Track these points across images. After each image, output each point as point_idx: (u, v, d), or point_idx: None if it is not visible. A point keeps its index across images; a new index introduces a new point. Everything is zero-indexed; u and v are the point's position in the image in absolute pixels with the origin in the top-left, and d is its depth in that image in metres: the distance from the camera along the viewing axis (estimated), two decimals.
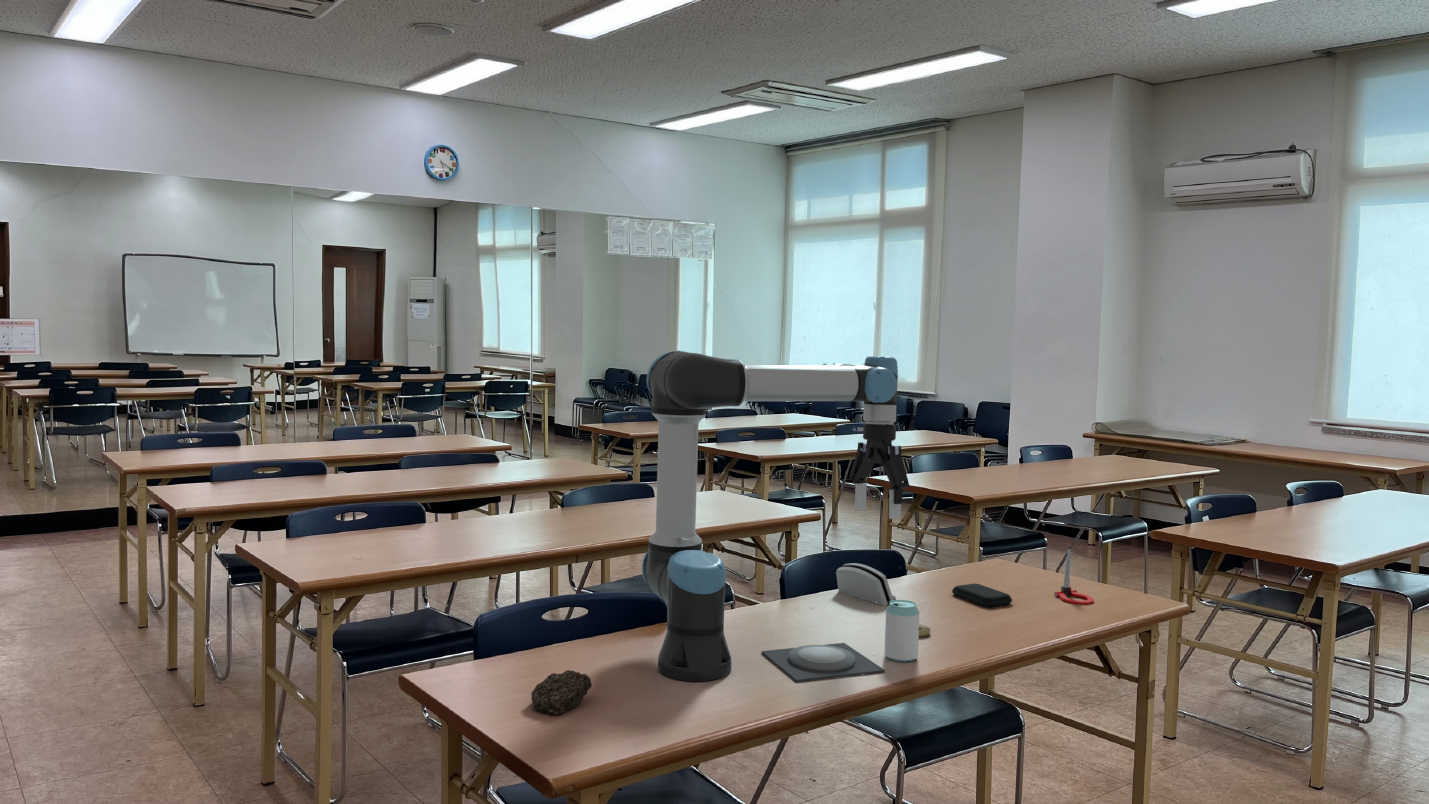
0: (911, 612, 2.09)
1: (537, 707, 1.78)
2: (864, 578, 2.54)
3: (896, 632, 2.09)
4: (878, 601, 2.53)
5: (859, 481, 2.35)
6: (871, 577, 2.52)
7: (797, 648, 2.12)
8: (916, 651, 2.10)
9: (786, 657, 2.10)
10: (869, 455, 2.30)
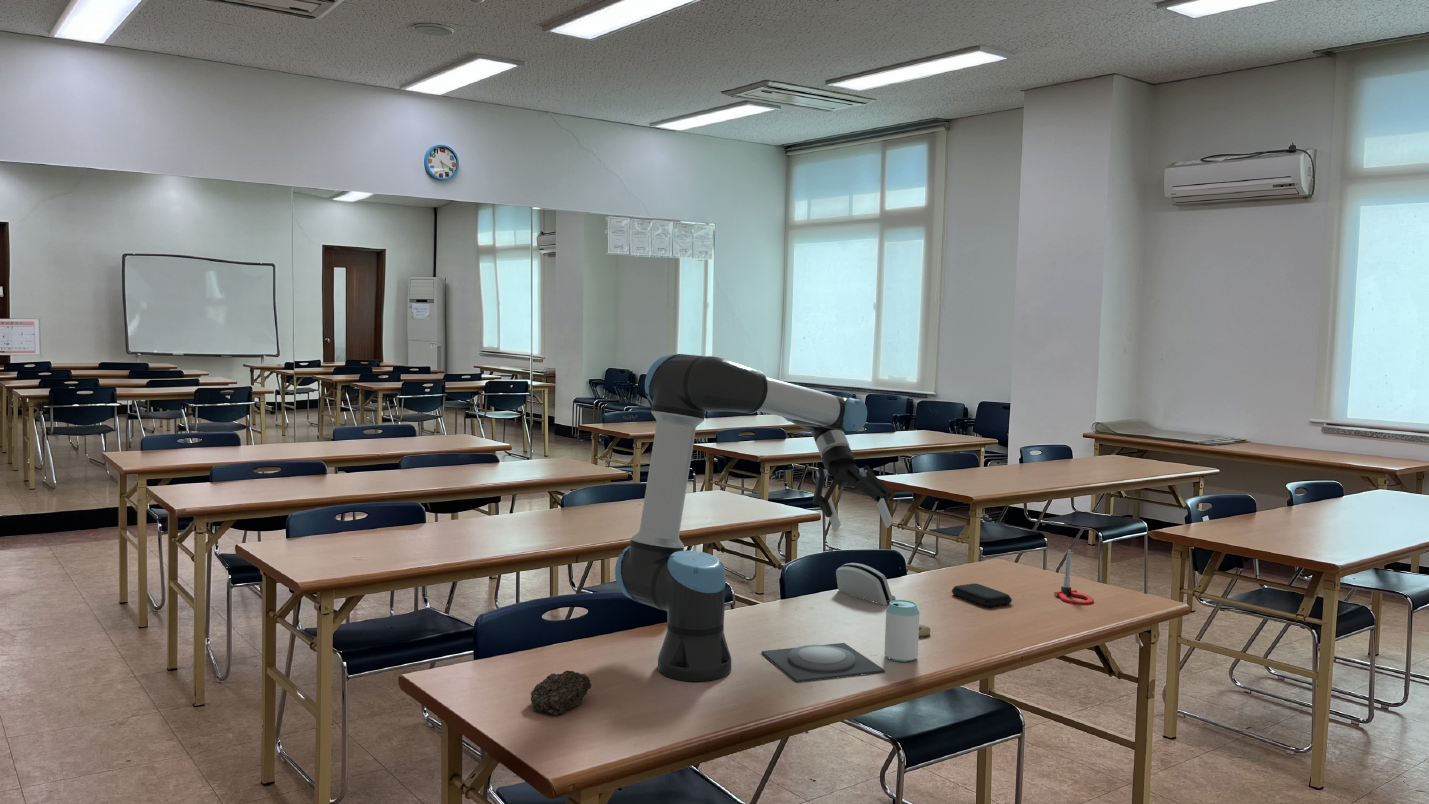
0: (911, 612, 2.09)
1: (536, 707, 1.78)
2: (863, 578, 2.54)
3: (896, 632, 2.09)
4: (878, 601, 2.53)
5: None
6: (871, 577, 2.52)
7: (797, 648, 2.12)
8: (916, 651, 2.10)
9: (786, 657, 2.10)
10: (842, 474, 2.35)
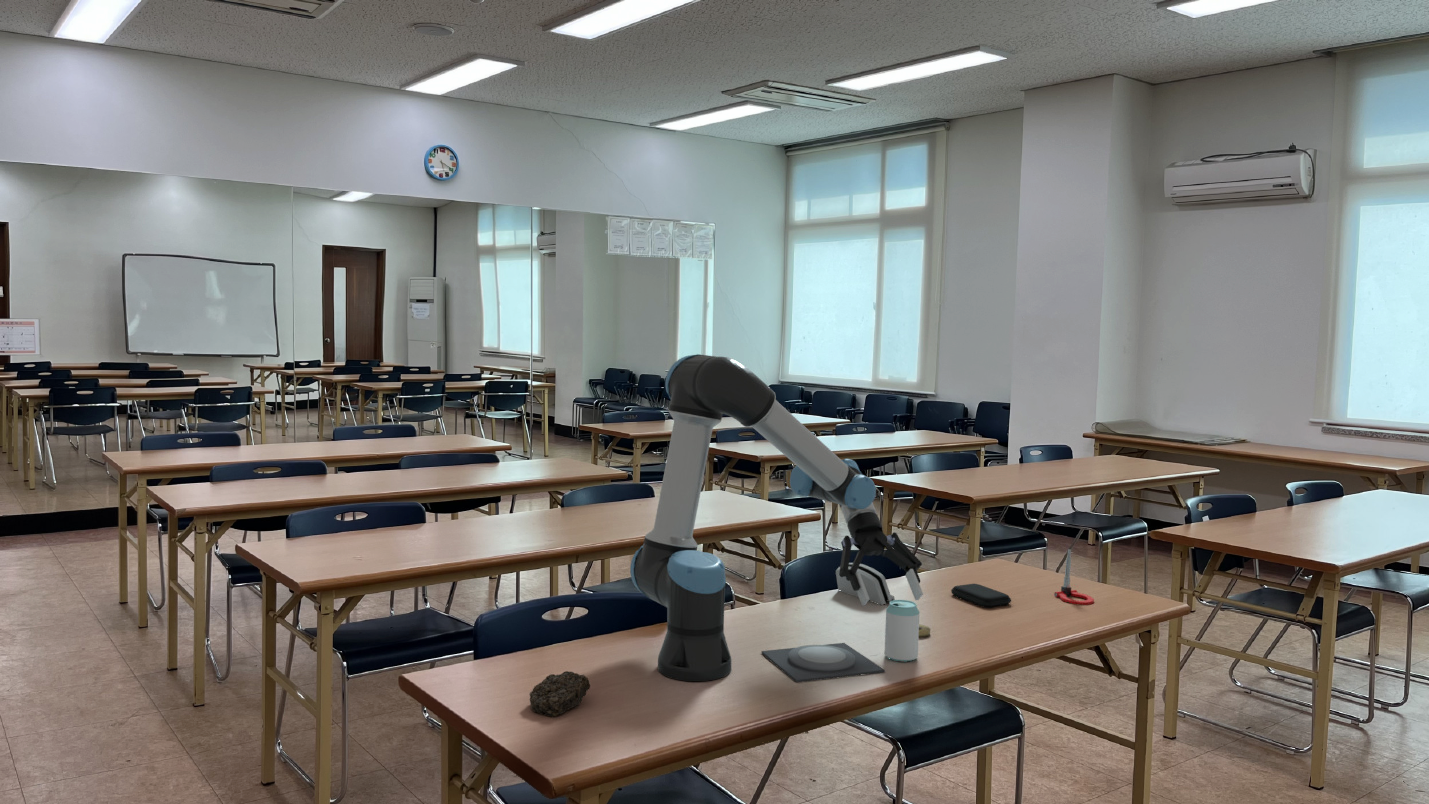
0: (911, 612, 2.09)
1: (535, 708, 1.78)
2: (862, 577, 2.54)
3: (896, 632, 2.09)
4: (876, 601, 2.53)
5: None
6: (869, 577, 2.53)
7: (797, 648, 2.12)
8: (916, 651, 2.10)
9: (786, 657, 2.10)
10: (869, 543, 2.25)
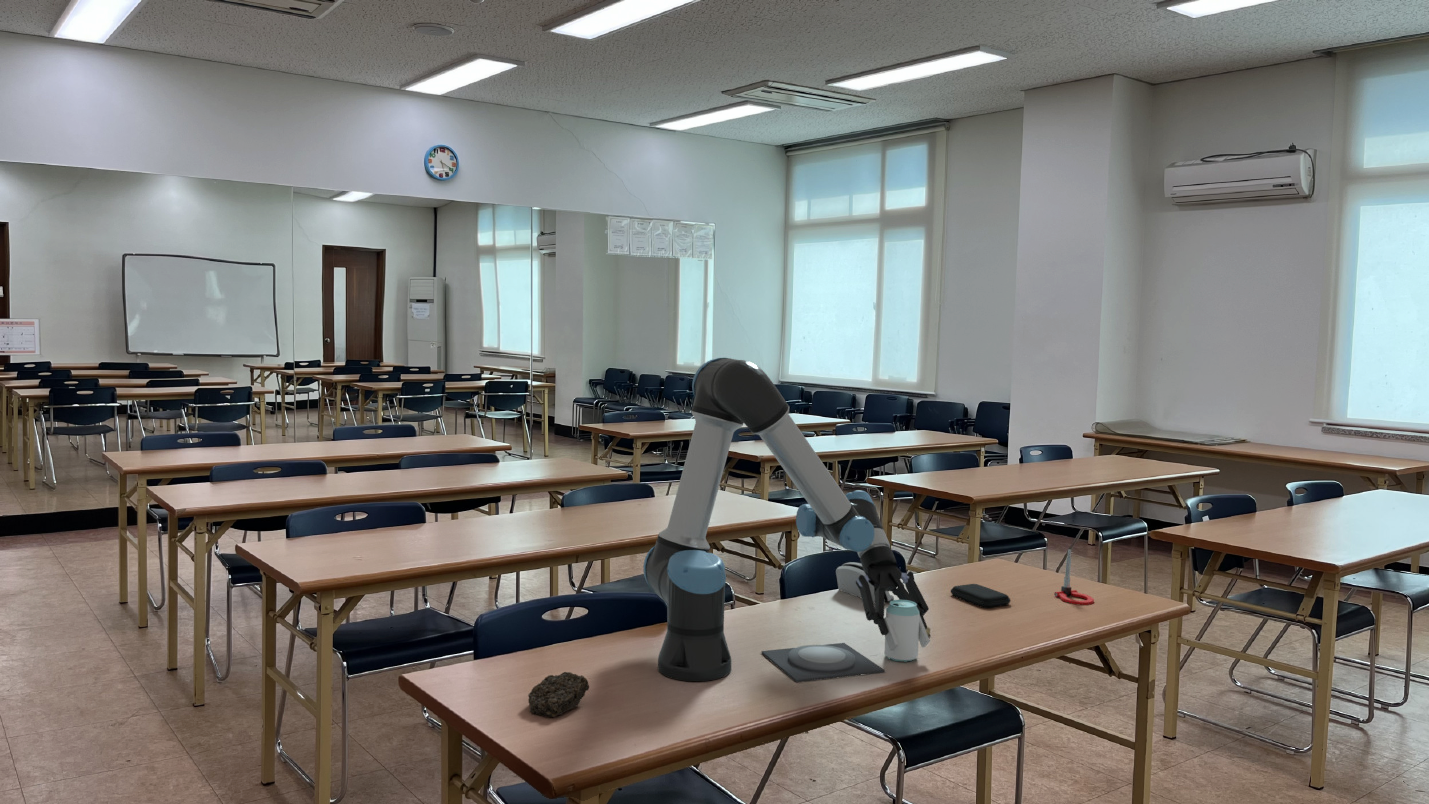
0: (911, 612, 2.09)
1: (534, 709, 1.77)
2: None
3: (895, 632, 2.09)
4: None
5: None
6: None
7: (797, 648, 2.12)
8: (916, 651, 2.10)
9: (786, 657, 2.10)
10: None
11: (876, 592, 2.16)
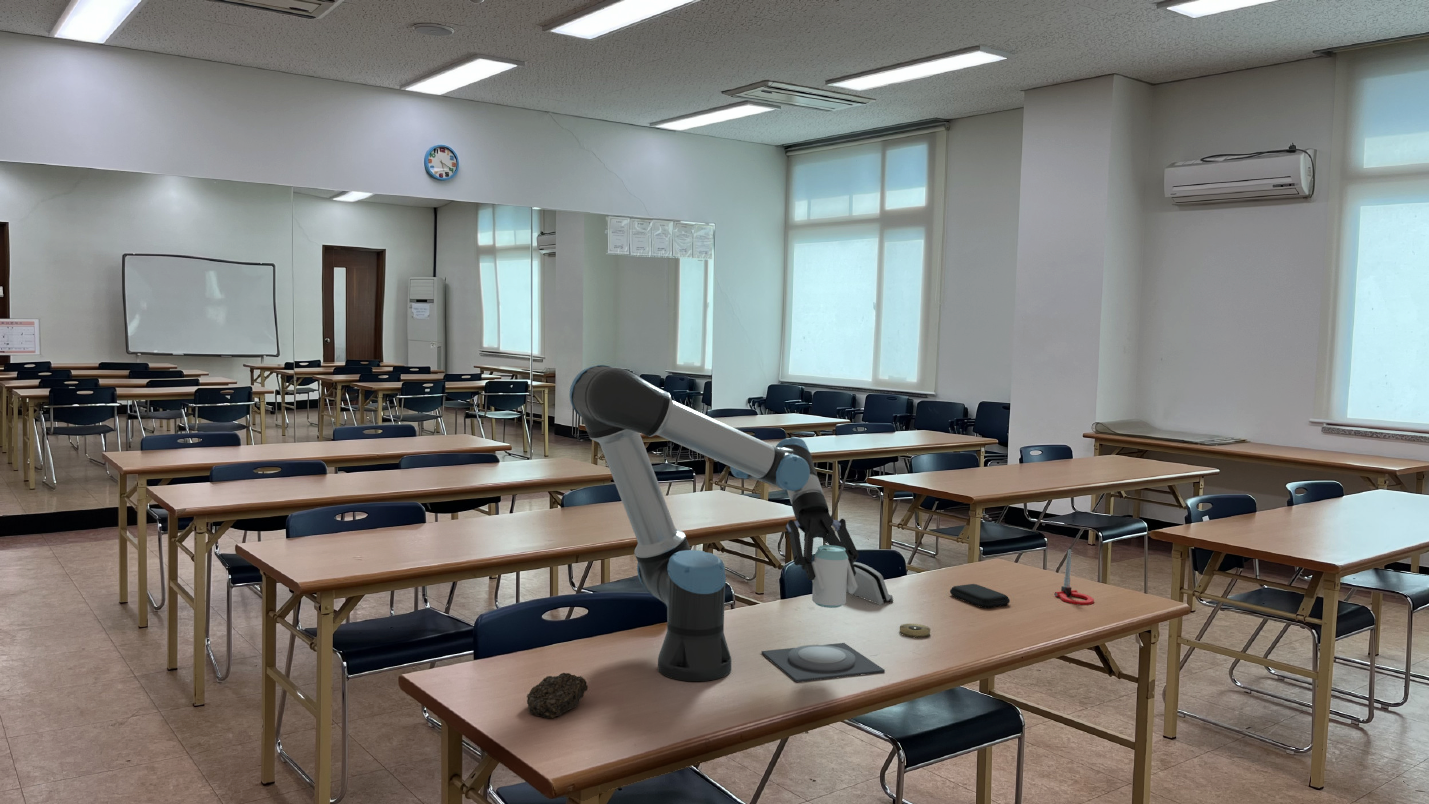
0: (838, 556, 2.04)
1: (533, 710, 1.77)
2: (860, 577, 2.55)
3: (822, 577, 2.04)
4: (874, 600, 2.54)
5: None
6: (867, 576, 2.53)
7: (797, 648, 2.12)
8: (843, 597, 2.05)
9: (786, 657, 2.10)
10: None
11: (806, 538, 2.11)
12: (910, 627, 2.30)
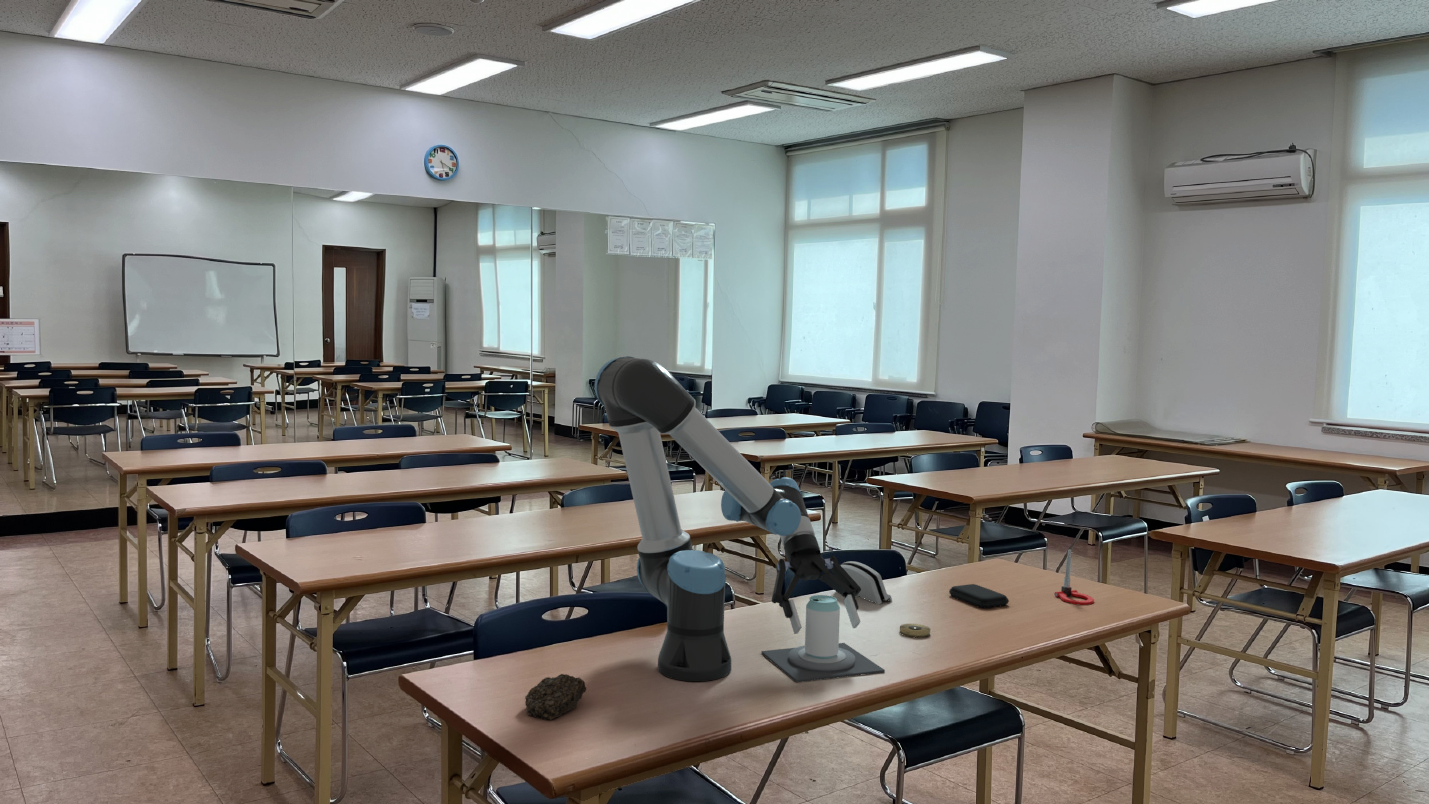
0: (830, 608, 2.04)
1: (531, 712, 1.76)
2: (859, 576, 2.56)
3: (815, 628, 2.05)
4: (872, 599, 2.54)
5: None
6: (865, 575, 2.54)
7: (797, 648, 2.12)
8: (836, 647, 2.06)
9: (786, 657, 2.10)
10: (805, 567, 2.12)
11: (793, 578, 2.12)
12: (910, 627, 2.30)
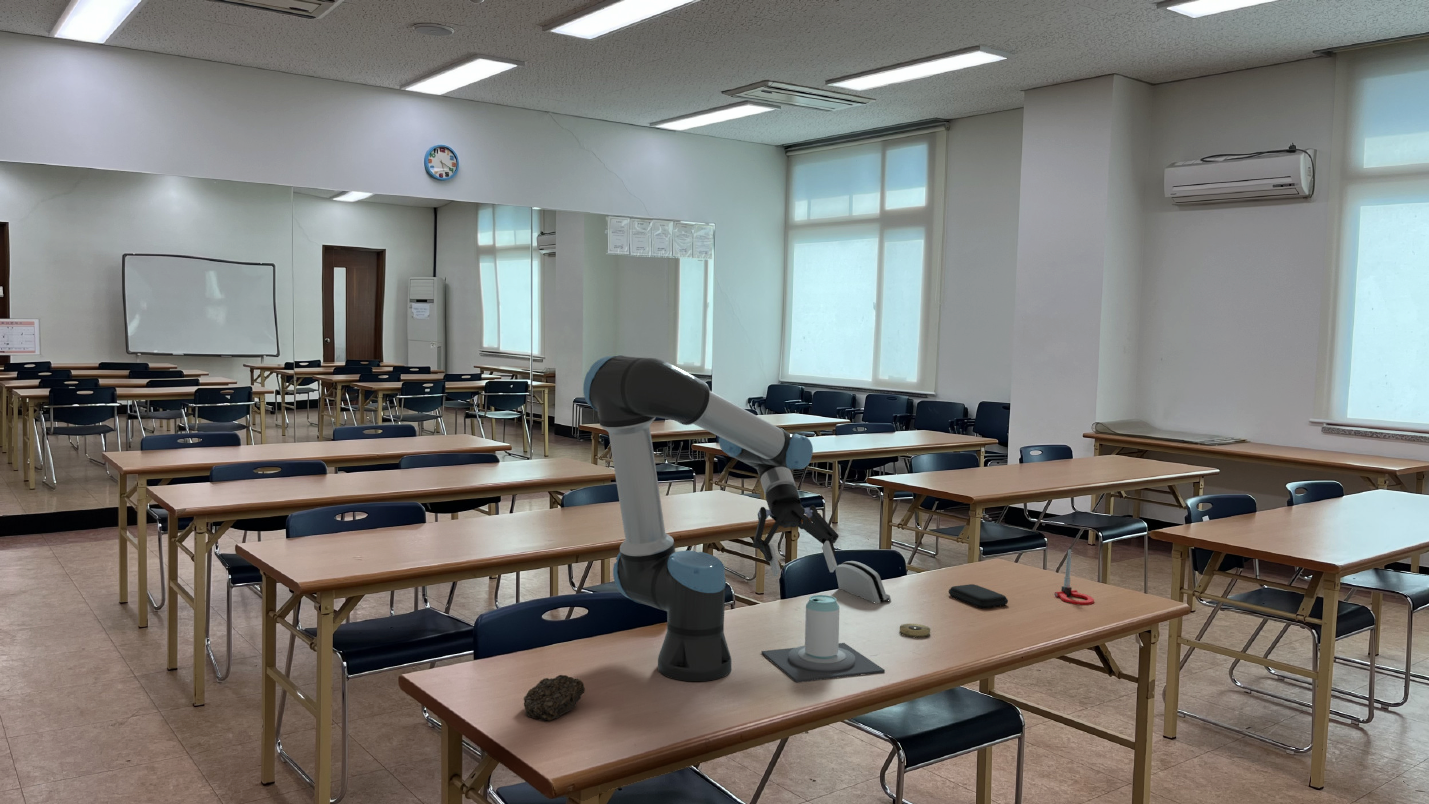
0: (830, 608, 2.04)
1: (530, 713, 1.76)
2: (858, 576, 2.56)
3: (814, 628, 2.05)
4: (871, 599, 2.55)
5: None
6: (864, 575, 2.54)
7: (797, 648, 2.12)
8: (836, 647, 2.06)
9: (786, 657, 2.10)
10: (785, 515, 2.23)
11: None
12: (910, 627, 2.30)
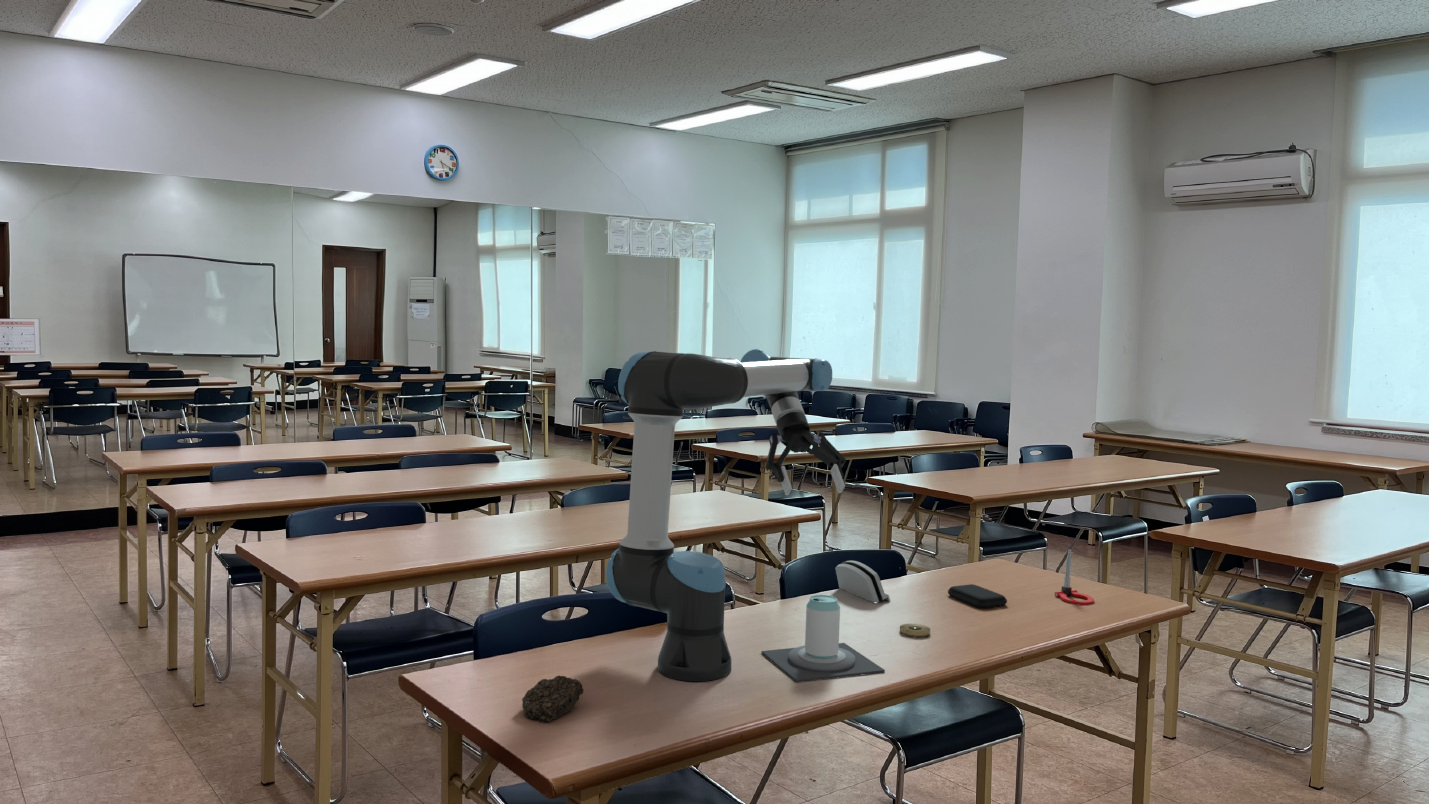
0: (830, 607, 2.04)
1: (528, 714, 1.75)
2: (857, 575, 2.57)
3: (814, 628, 2.05)
4: (870, 599, 2.55)
5: None
6: (863, 574, 2.55)
7: (797, 648, 2.12)
8: (836, 647, 2.06)
9: (786, 657, 2.10)
10: (795, 440, 2.35)
11: None
12: (910, 627, 2.30)
